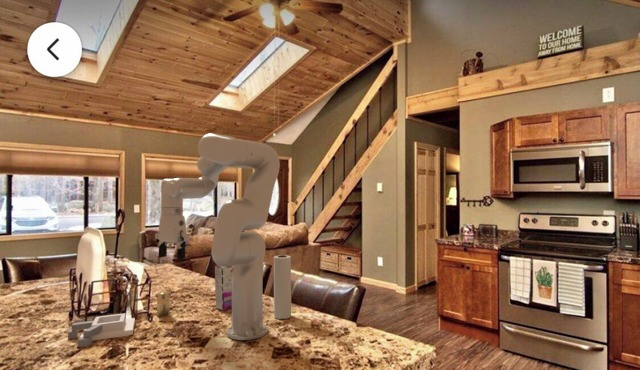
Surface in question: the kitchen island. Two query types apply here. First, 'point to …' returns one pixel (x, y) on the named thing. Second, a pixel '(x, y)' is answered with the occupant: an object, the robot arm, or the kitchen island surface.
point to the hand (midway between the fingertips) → (171, 258)
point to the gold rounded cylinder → (163, 303)
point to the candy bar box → (223, 287)
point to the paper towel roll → (282, 286)
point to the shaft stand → (102, 329)
